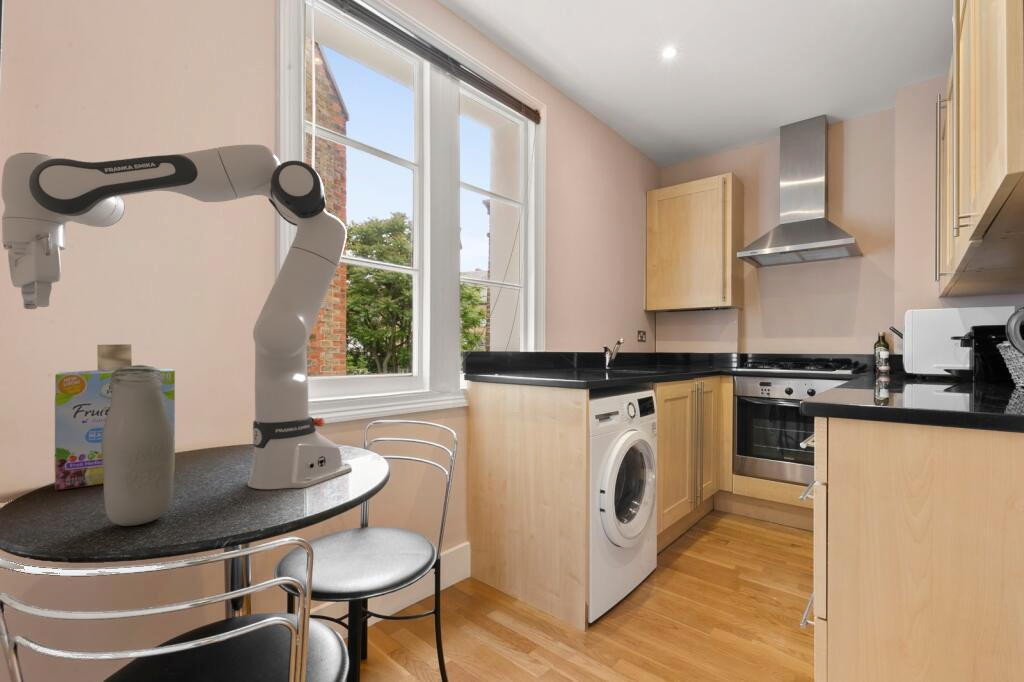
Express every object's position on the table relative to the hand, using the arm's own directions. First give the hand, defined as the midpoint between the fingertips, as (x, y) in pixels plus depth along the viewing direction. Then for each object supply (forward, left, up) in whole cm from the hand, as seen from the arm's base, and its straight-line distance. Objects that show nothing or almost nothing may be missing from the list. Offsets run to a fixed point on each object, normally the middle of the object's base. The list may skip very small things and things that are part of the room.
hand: (36, 308), depth 94 cm
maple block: (-15, -10, -13) cm, 22 cm away
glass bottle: (-8, +28, -39) cm, 49 cm away
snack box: (-15, -10, -39) cm, 43 cm away
